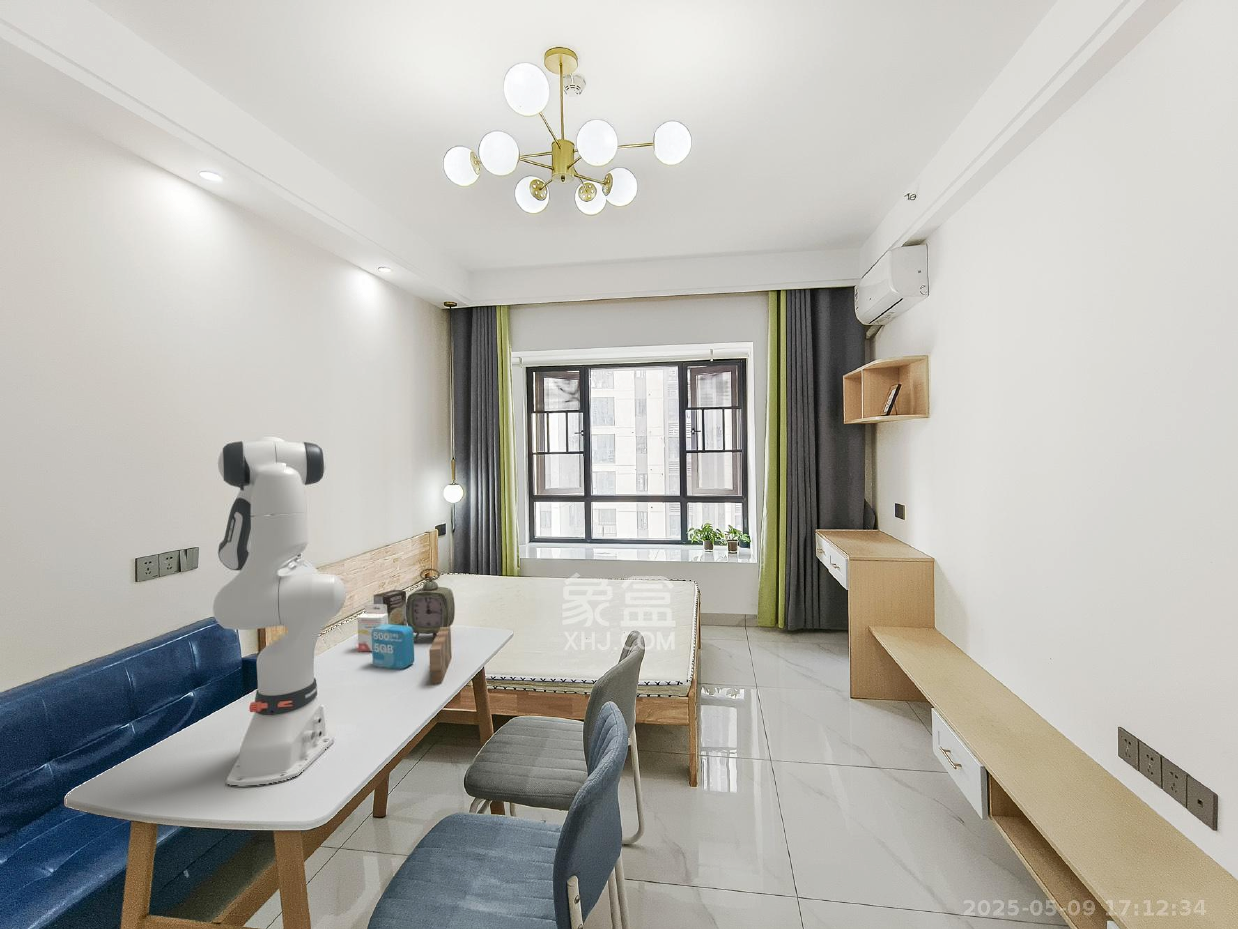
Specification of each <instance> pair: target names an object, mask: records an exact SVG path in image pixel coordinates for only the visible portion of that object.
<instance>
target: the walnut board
mask: <svg viewBox="0 0 1238 929" xmlns="http://www.w3.org/2000/svg"><path fill="white" fill-rule="evenodd" d="M451 634H452V630H451V626H450V627H441V628H440V630H439V632H438V633H437V636H436V637H435V638H434V639H433V642H432V643H431V645H430V648H429V676H430V677H429V678H430V685H442V683H443V681H444V679H445V676H446V673H447V671H448V668H449V666H450V664H451V661H452V654H453V653H452V635H451Z"/></svg>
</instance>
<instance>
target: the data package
mask: <svg viewBox="0 0 1238 929" xmlns="http://www.w3.org/2000/svg"><path fill="white" fill-rule="evenodd" d="M371 635H372V652H371V653H372V655H371V656H372V664H373V665H374V666H375V667H376V666H377V668H385V667H389V668H388V669H395V668H397V670H404V669H406V668H407V667H409V666H410V665H413V664H414V662H415V642H414V637H415V636H414V633H413V629H412V627H410V626H408V625H407V626H402V625H389V624H383V625H381V626H379V627H376V628H374V629H373V630H372V632H371Z"/></svg>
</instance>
